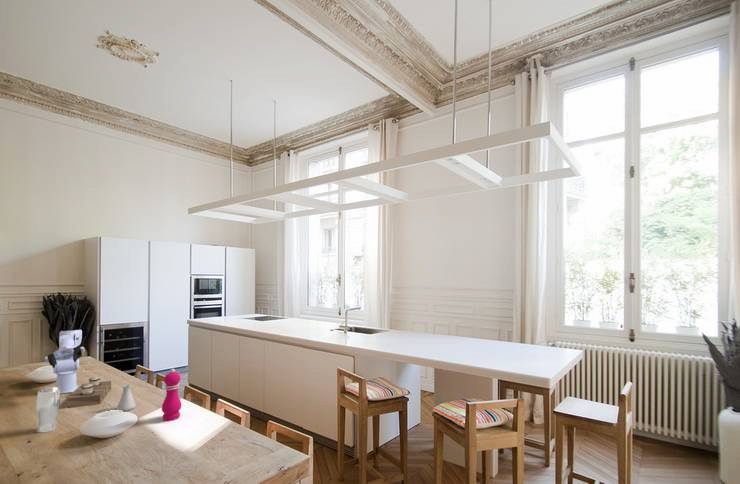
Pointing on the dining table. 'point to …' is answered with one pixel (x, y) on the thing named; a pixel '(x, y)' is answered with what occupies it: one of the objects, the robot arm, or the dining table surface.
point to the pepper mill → (171, 397)
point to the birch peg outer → (87, 389)
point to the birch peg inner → (94, 381)
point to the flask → (126, 399)
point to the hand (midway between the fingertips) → (63, 362)
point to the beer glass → (47, 408)
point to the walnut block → (91, 399)
